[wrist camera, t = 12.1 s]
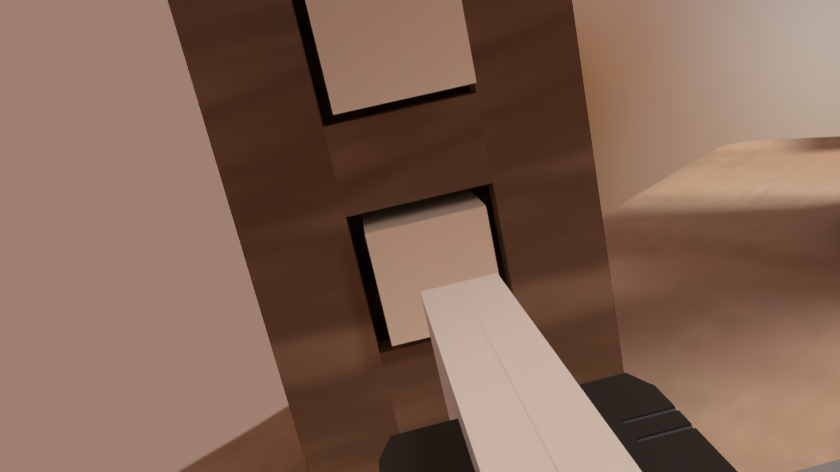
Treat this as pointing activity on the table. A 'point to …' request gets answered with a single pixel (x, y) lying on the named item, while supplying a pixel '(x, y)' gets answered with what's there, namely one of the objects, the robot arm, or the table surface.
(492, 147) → the switch panel
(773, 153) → the table surface
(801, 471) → the pattern card
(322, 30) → the middle key
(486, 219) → the bottom key
